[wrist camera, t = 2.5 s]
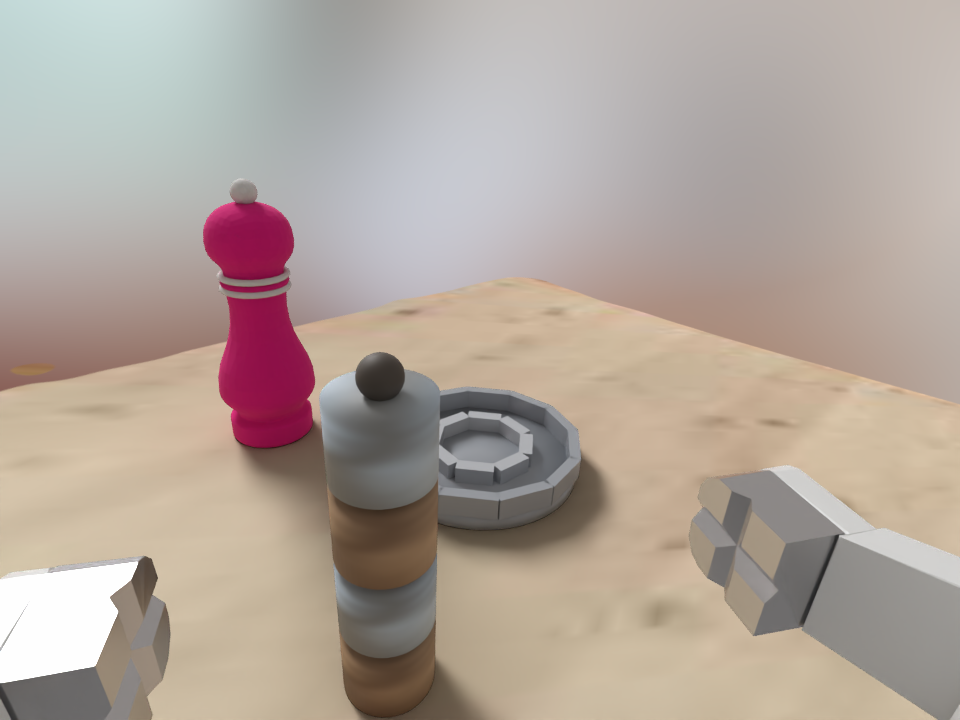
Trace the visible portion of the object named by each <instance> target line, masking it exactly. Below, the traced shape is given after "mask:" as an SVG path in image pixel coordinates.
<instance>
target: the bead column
mask: <svg viewBox="0 0 960 720" xmlns="http://www.w3.org/2000/svg"><path fill="white" fill-rule="evenodd" d="M319 401H320V413H321V424H322V436H323V447H324V459H325V471H326V481H327V494H328V505H329V517H330V529H331V540H332V552H333V561H334V575H335V586H336V598H337V610H338V621H339V633H340V644H341V656H342V668H343V679H344V687H345V691H346V694H347V696H348V698H349V700H350V701H351V703H352V704H353V705H354V706H355V707H356V708H357V709H359V710H360V711H362V712H364V713H366V714H368V715H371V716H375V717H393V716H398V715H401V714H403V713H406V712H408V711H410V710H411V709H413V708H414V707H416V706H417V705H418V704H419V703H420V702H421V701H422V700H423V699H424V698H425V696H426V695H427V694H428V692H429V690H430V688H431V686H432V683H433V680H434V673H435V625H436V618H435V617H436V575H437V525H438V474H439V426H440V390H439V388H438V386H437V385H436V384H435V382H434V381H432V380H431V379H430V378H428V377H426V376H424V375H422V374H420V373H417V372H414V371H410V370H405V369H404V368H403V366H402V364H401V363H400V361H399V360H398V359H397V358H396V357H394V356H393V355H390V354H388V353H383V352H377V353H372V354H370V355H368V356H366V357H365V358H364V359H363V360H362V361H361V362H360V363H359V365H358V367H357V369H356V371H353V372H350V373H347V374H344V375H342V376H339V377H337V378H335V379H334V380H332V381H330V382H329V383H328V384H327V385H326V386H325V387H324V388H323V389H322V391H321V393H320V398H319Z"/></svg>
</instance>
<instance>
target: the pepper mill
mask: <svg viewBox="0 0 960 720" xmlns="http://www.w3.org/2000/svg"><path fill="white" fill-rule="evenodd" d="M230 195H231V197H232V199H233V200H234V201H235V202H232V203H228V204H225V205H223V206H220V207H219V208H217V209H216V210H214V211H213V212H212V213H211V214H210V216H209V217H208V218H207V220H206V223H205V225H204V230H203V238H204V239H203V242H204V245H205V250H206V252H207V254H208V256H209V257H210V258H211V259H212V260H213V261H214V262H215V263H216V264H217V265H219V267H220V268H221V270H220V271H219V272H218V274H217V278H218V280H219V281H220V286H219V291H220V292H221V293H222V294H224V295H226V296H227V300H228V305H229V311H230V328H229V337H228V341H227V345H226V348H225V351H224V354H223V357H222V360H221V363H220V369H219V377H218V378H219V392H220V395H221V397H222V399H223V400H224V402H225V403H226V404H227V405H229V406H230V407H231V408H233V409H234V410H233V411H232V413H231V421H232V427H233V433H234V436H235V438H236V439H237V440H238V441H240V442H241V443H242V444H245V445H247V446H252V447H257V448H271V447H278V446H282V445H286V444H289V443H292V442H294V441H296V440H298V439H300V438H302V437H303V436H304V435H306V434H307V433H308V432H309V430H310V429H311V427H312V424H313V418H312V408H311V403H310V402H309V401H308V400H307V398H308V397H309V396H310V394H311V393H312V391H313V389H314V385H315V376H314V371H313V365H312V363H311V361H310V358H309V356H308V354H307V352H306V351H305V349H304V347H303V345H302V344H301V342H300V340H299V339H298V337H297V335H296V333H295V332H294V329H293V327H292V324H291V321H290V318H289V313H288V308H287V300H286V291H288V290H289V289H290V287H291V282H290V281H289V275H290V271H289V269H288V268H287V267H285V266H284V265H285V263H286V261H287V260H288V259H289V258H290V256H291V254H292V252H293V248H294V237H293V233H292V229H291V226H290V224H289V222H288V220H287V219H286V218H285V217H284V215H283V214H282V213H281V212H279V211H278V210H277V209H275V208H273V207H271V206H269V205H266V204H263V203H259V202H254V201H255V200H256V198H257V189H256V187H255V185H254V184H253V183H252V182H251V181H249V180H247V179H237V180H235V181H234V182H233V183H232V184H231V186H230Z"/></svg>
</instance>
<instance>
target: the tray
mask: <svg viewBox="0 0 960 720" xmlns="http://www.w3.org/2000/svg"><path fill="white" fill-rule="evenodd" d="M580 464H581V452H580V443H579V433H578V429H577V428H576V427H574V426H573V425H572V424H571V423H570V422H569V421H568V420H567V419H566V418H565V417H564V416H563V415H561V414H560V413H559V412H558V411H557V410H556V409H555V408H554V407H553V406H551V405H549V404H546V403H543V402H541V401H538V400H535V399H533V398H530V397H527V396H525V395H522V394H519V393H517V392H514V391H512V392H511V391H510V390H499V389H488V388H477V387H461V388H455V389H449V390H443V391H440V426H439V474H438V523H439V524H443V525H447V526H451V527H456V528H463V529H472V530H498V529H506V528H513V527H517V526H522V525H525V524H528V523H531V522H534V521H537V520H539V519H541V518H543V517H545V516H547V515H549V514H550V513H552V512H553V511H555V510H556V509H558V508H559V507H560V506H561V505H562V504H563V503H564V502H565V501H566V499H567V498H568V497H569V495H570V494H571V491H572V489H573V487H574V483H575V481H576V480H577V479H578V477H579V471H580Z"/></svg>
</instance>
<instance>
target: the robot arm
mask: <svg viewBox="0 0 960 720" xmlns="http://www.w3.org/2000/svg"><path fill="white" fill-rule="evenodd" d="M698 500H699V502H700V503H701V505H702V507H703V508H702V509H701V510H700V511H699V512H698V514H697V515H696V516H695V517H694V518H693V519H692V522H691V527H690V532H689V541H690V546H691V552H692V555H693V557H694V559H695V561H696V563H697V565H698V567H699V568H700V569H701V571H702V572H703V573H704V575H705V576H706V577H707V578H708V579H710V580H712V581H714V582H715V583H717V584H719V585H721V586H723V587H724V591H725V601H726V603H727V604H728V605H729V606H730V608H731V609H732V610H733V611H734V613H735V614H736V615H737V616H738V618H739V619H740V620H741V621H742V623H743V624H744V625H745V626H746V628H747V629H748V630H749V631H750V633H751V634H752V635H753V636H757V635H762V634H768V633H773V632H778V631H784V630H789V629H794V628H800V627H803V628H802V631H804V632H805V633H807V634H808V635H810V636H811V637H813V638H814V639H816V640H818V641H819V642H821V643H822V644H824V645H825V646H827V647H828V648H830V649H831V650H833V651H834V652H836V653H837V654H839V655H840V656H842V657H843V658H845V659H846V660H848V661H849V662H851V663H852V664H854V665H856V666H857V667H859V668H860V669H862V670H863V671H865V672H866V673H868V674H869V675H871V676H872V677H874V678H875V679H877V680H878V681H880V682H881V683H883V684H884V685H886V686H887V687H889V688H890V689H892V690H893V691H895V692H897V693H898V694H900V695H901V696H903V697H904V698H906V699H907V700H909V701H910V702H912V703H913V704H915V705H916V706H918V707H919V708H921V709H922V710H924V711H925V712H927V713H928V714H930V715H931V716H933V717H935V718H936V719H938V720H960V557H958V556H955V555H953V554H950V553H948V552H945V551H943V550H940V549H937V548H935V547H932V546H930V545H927V544H925V543H922V542H919V541H917V540H914V539H912V538H909V537H907V536H904V535H902V534H899V533H896V532H894V531H891V530H889V529H886V528H880V529H876V528H874V527H873V526H872V525H870V524H869V523H868V522H867V521H865V520H864V519H863V518H861V517H860V516H859V515H858V514H856V513H855V512H854V511H853V510H851V509H850V508H849V507H847V506H846V505H845V504H844V503H842V502H841V501H840V500H838V499H837V498H836V497H835V496H833V495H832V494H831V493H830V492H828V491H827V490H826V489H824V488H823V487H822V486H821V485H819V484H818V483H817V482H815V481H814V480H813V479H812V478H810V477H809V476H808V475H807V474H805V473H804V472H803V471H801V470H800V469H798V468H795V467H792V466H790V465H785V466H779V467H773V468H766V469H761V470H760V471H750V472H743V473H736V474H730V475H723V476H716V477H709V478H707V479H706V480H705V481H704V482H703V483H702V485H701V487H700V490H699V494H698ZM157 579H158V577H157V574H156V571H155V568H154V565H153V562H152V559H151V558H148V557H146V556H139V557H131V558H122V559H114V560H105V561H97V562H88V563H80V564H71V565H63V566H57V567H55V568H44V569H36V570H27V571H18V572H10V573H9V574H7V575H5V576H4V577H2V578H1V579H0V720H151V719H152V715H153V714H152V711H151V708H150V705H149V702H148V699H147V696H148V695H149V694H150V693H151V692H152V690H153V689H154V688H155V687H156V686H157V685H158V684H159V683H160V682H161V681H162V680H163V676H164V672H165V669H166V665H167V661H168V655H169V644H170V624H169V616H168V612H167V608H166V604H165V603H164V602H163V601H161V600H160V599H158V598H156V597H155V596H153V595H152V594H153V591H154V588H155V585H156V582H157Z"/></svg>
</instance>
